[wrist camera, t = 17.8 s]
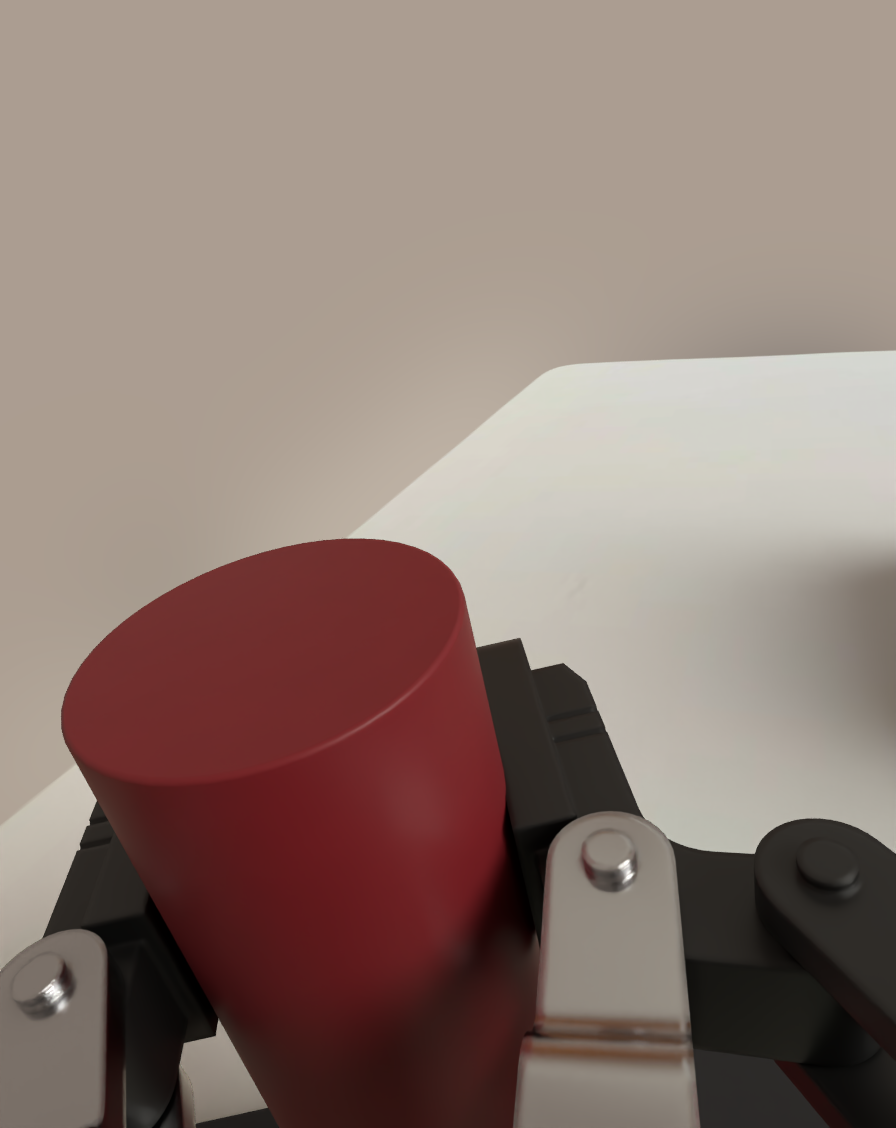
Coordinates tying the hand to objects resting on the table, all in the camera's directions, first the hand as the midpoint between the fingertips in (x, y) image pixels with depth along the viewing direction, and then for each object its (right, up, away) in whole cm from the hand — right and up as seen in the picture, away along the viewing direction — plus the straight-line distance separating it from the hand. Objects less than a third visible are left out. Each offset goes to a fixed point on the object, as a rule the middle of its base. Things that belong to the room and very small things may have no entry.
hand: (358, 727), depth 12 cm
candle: (+3, -12, +3) cm, 13 cm away
